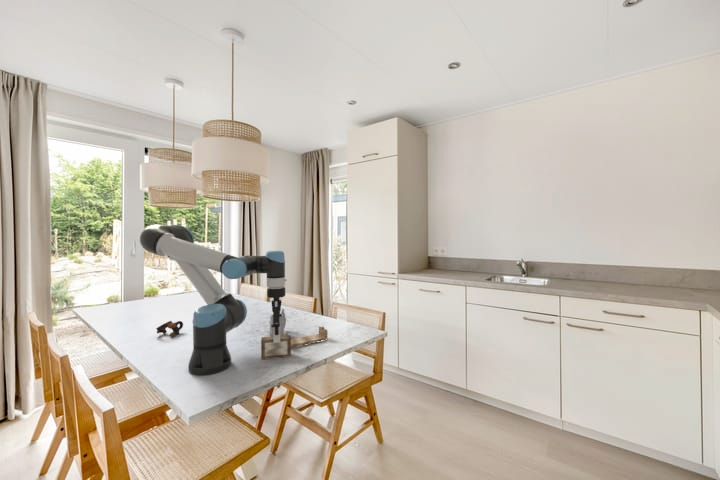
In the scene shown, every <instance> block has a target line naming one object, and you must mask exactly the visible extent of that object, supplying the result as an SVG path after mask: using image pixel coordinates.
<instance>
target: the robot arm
mask: <svg viewBox="0 0 720 480" xmlns="http://www.w3.org/2000/svg"><path fill="white" fill-rule="evenodd" d="M194 239H195V236H194V234H193V232H192V230H191V229H189V228H188V227H186V226H184V225H179V224H172V225H170V224H169V225H167V224H153V225H149V226H147V227H146V228H144V230H142V232H141V233H140V236H139V243H140V245H141V247H142V248H143V249H144V250H145V251H146V252H148V253H151V254H153V255H157V256H159V257H167V258H168V260H170V261H173V262H174V261H175V262H176V264H178V266H179V267H180V268H179V269H181V270H182V272H183V273H184V274H185V276H186V277H187V279H188V280H189V281H190V283H191V284H192V286H194V288H195V289H196V292H197V293H198V294H199V295H200V297H201V298H202V299H203V301H204V302H205V304H206V305H202V306H199V307H198V308H196V309H195V310H194V312H193V314H192V315H193V318H192V328H193V329H192V336H193V337H192V339H193V341H192V342H193V344H192V345H193V347H192V348H193V350H192V353H191V356H190V358H189V362H188V366H187V367H188V368H187V369H188V373H190V375H196V376H206V375H213V374H217V373H220V372H222V371H223V372H224V370H227V369H229V368H230V366H232V356H231V353H230V350H229V347H228V345H227V333H228V332H230V331H232V330H234V329H235V328H238V327H239V326H241V324H243V322H245V319H246V318H247V314H248V309H247V306H246V304H245V303H244V302H243V300H241V299H238V298H235V297H234V296H233V294H232V293H231V292H226V291H225V290H224V289H223V287H222V286H221V283H219V282H218V280H217V279H216V277H215V276H214V275H213V273H212V272H211V271H214V272H217V273H221V274H222V275H223V276H224V277H225V278H226V279H229V280H237V279H240V278H243V277H246V276H250V275H255V274H266V287H267V289H266V297H267V298H269V299H272V300H271V312H272V315H273V325H271V327H273V343H278V342H280V332H281V326H280V317H281V316H282V314H281V311H282V299H281V298H283V297H285V296H286V287H285V286H286V282H287V279H286V264H285V263H286V258H285V252H284V251H283V250H268V251H266V253H265V255H242V256H240V257H237V256H234V255H231V254H228V253H225V252H222V251H219V250H216V249H212V248H210V247H206V246H203V245H200V244H196V243H195V240H194Z"/></svg>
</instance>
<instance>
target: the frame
mask: <svg viewBox="0 0 720 480" xmlns="http://www.w3.org/2000/svg"><path fill="white" fill-rule="evenodd" d="M291 339H292V337H291V334H288V335H284V336H283V335H282V336H280V342H278V343H273V336H262V337H261V340H260V343H261V344H260V345H261V346H260V348H261V349H260V350H261V351H260V352H261V353H260V354H261V355H260V360H267V359H266V358H269V359H275V358H274V357H280V358H284V357H283V356H292V353H291V352H292V348H291Z"/></svg>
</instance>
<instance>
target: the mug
mask: <svg viewBox="0 0 720 480" xmlns="http://www.w3.org/2000/svg"><path fill="white" fill-rule="evenodd" d="M280 314H282V316H281V317H280V326H281V332H280V336H283V334H285V328H286V324H287V323H286V322H287V318H286V313H285V308H281V311H280ZM269 318H270V319H269V330H268V333H269V337H271V336H273V327H271V325H273V314H271V315H270V317H269Z"/></svg>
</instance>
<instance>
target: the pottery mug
mask: <svg viewBox="0 0 720 480" xmlns="http://www.w3.org/2000/svg"><path fill="white" fill-rule="evenodd" d="M178 325H179V326H178ZM183 326H184V323H183V321H180V320H179V321H175V322H172V320H169V321H167V322H165V323H163V324H161V325H159V326H158V327H157V328H156V333H157V334H161V333H162V334H163V335H166V334H167V330H166V329H167V328H168V329H170V330H172V332H171V333H169V336H170V338H174V337H176V336H178V335H180V331H181V329H182V328H183Z"/></svg>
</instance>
